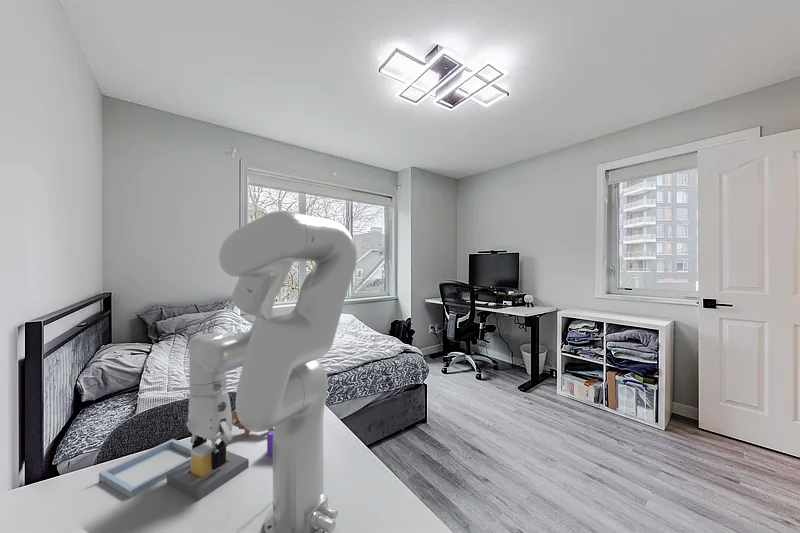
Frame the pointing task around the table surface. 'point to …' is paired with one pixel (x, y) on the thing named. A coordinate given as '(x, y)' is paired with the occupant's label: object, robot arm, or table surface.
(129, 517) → the table surface
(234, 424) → the lion figurine
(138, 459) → the tray
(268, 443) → the purple rectangular block
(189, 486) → the block
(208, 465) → the block
